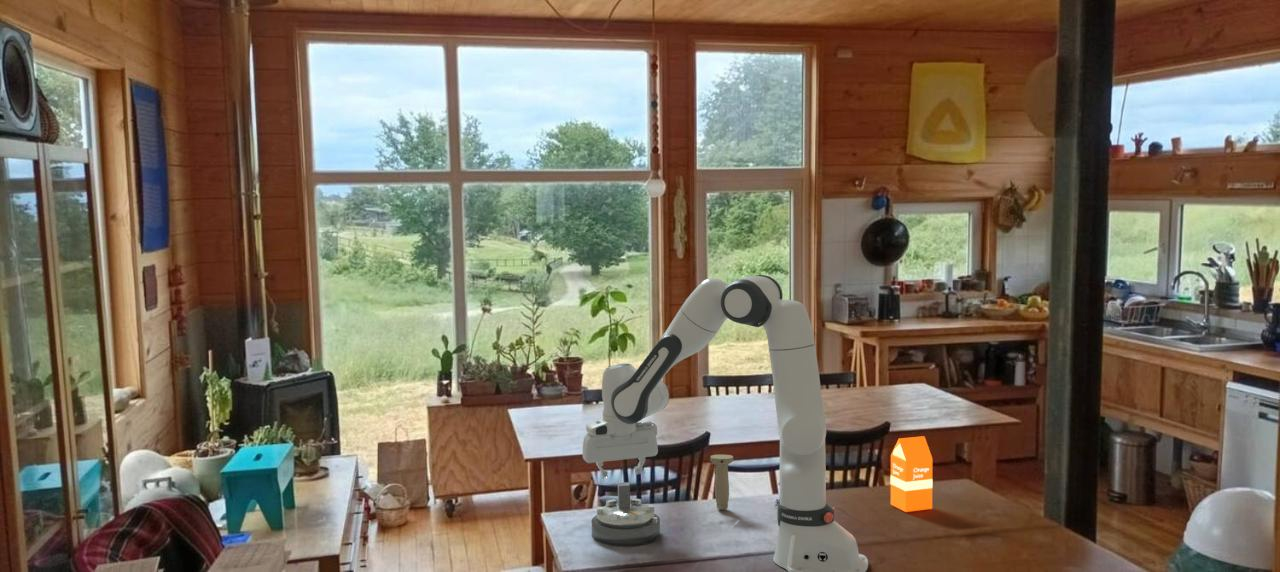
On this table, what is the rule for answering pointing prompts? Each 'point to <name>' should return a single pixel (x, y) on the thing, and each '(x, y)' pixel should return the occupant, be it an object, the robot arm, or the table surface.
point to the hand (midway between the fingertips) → (621, 475)
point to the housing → (626, 533)
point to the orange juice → (911, 475)
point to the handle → (722, 479)
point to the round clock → (625, 511)
